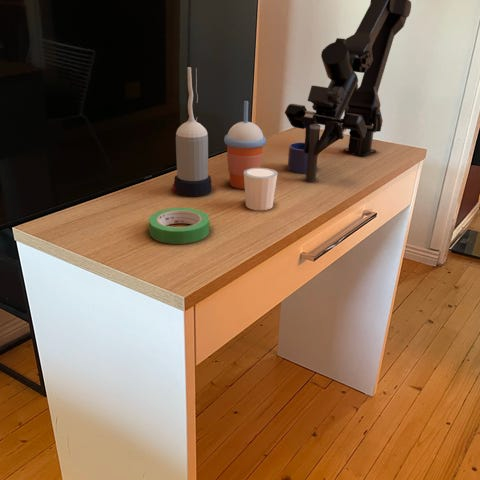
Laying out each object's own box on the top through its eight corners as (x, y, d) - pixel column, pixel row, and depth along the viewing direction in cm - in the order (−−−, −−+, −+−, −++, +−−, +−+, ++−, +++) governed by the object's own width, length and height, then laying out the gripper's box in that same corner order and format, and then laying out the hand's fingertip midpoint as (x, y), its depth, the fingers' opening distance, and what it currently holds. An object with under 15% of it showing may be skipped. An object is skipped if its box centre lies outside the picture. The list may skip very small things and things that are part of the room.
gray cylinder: (309, 178, 135) (314, 123, 129) (317, 180, 134) (322, 125, 127) (303, 180, 134) (307, 125, 127) (311, 182, 132) (316, 127, 126)
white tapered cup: (279, 202, 122) (281, 169, 118) (270, 213, 116) (272, 179, 112) (248, 197, 123) (249, 165, 120) (238, 208, 118) (238, 175, 114)
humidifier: (166, 190, 126) (160, 66, 113) (193, 181, 131) (191, 62, 118) (191, 199, 122) (188, 72, 108) (219, 190, 127) (219, 67, 113)
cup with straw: (265, 179, 134) (269, 97, 124) (262, 192, 126) (266, 106, 117) (226, 177, 135) (227, 96, 125) (221, 190, 127) (221, 104, 117)
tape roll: (159, 248, 101) (158, 234, 100) (142, 225, 110) (141, 211, 108) (218, 239, 105) (218, 225, 103) (197, 217, 113) (197, 204, 112)
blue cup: (299, 162, 145) (301, 140, 142) (321, 169, 141) (323, 146, 139) (282, 168, 141) (283, 145, 138) (303, 175, 137) (305, 151, 134)
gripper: (291, 65, 129) (262, 125, 127) (368, 75, 120) (338, 140, 118) (306, 97, 138) (279, 153, 137) (378, 108, 129) (350, 169, 128)
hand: (309, 153), depth 129 cm, fingers closed on gray cylinder, 2 cm apart
